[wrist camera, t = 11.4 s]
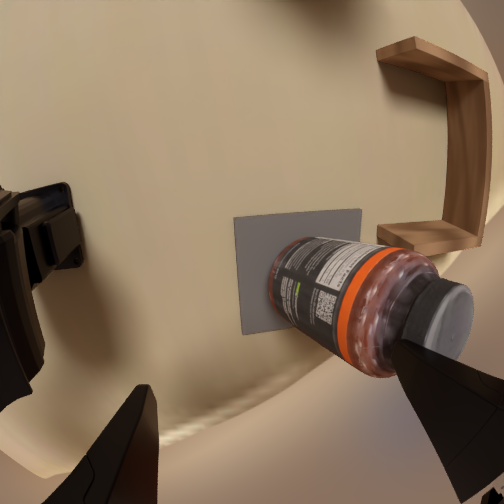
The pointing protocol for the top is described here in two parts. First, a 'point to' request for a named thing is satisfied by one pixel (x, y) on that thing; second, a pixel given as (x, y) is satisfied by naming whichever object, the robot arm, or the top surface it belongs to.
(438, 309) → the supplement bottle
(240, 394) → the top surface
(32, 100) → the top surface
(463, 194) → the crate
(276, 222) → the mat
